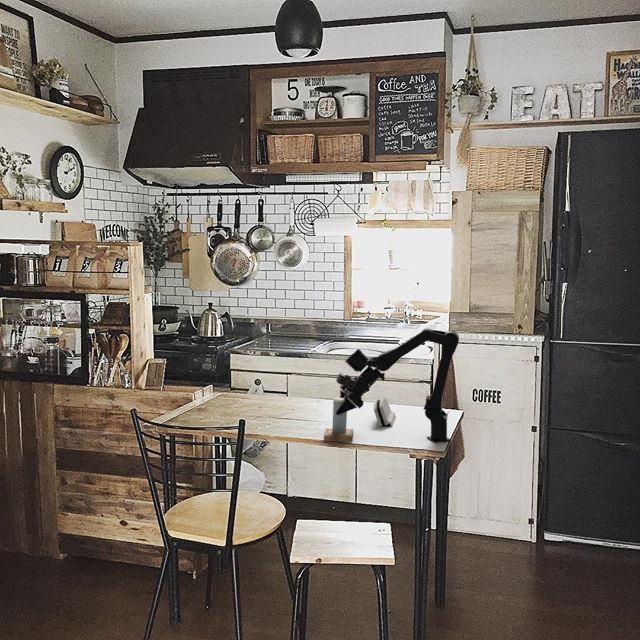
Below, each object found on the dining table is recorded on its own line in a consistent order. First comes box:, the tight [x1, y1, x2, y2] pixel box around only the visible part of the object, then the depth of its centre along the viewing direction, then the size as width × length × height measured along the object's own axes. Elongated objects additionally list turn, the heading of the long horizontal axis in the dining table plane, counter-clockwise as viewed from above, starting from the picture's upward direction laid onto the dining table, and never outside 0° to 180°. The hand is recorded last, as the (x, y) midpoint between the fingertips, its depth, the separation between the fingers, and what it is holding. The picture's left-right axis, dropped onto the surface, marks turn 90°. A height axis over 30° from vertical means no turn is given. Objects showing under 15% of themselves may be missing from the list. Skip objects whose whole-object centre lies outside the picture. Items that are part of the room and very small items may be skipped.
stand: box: [323, 428, 354, 443], centre depth 280 cm, size 10×10×2 cm
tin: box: [331, 397, 348, 433], centre depth 279 cm, size 5×5×12 cm
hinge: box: [373, 397, 397, 428], centre depth 303 cm, size 17×5×10 cm, turn 169°
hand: (335, 412), depth 279 cm, fingers open, 6 cm apart
